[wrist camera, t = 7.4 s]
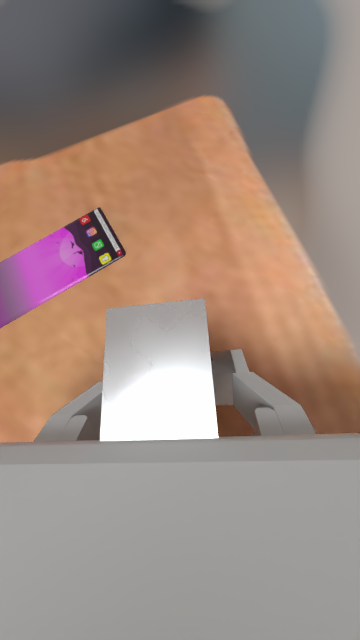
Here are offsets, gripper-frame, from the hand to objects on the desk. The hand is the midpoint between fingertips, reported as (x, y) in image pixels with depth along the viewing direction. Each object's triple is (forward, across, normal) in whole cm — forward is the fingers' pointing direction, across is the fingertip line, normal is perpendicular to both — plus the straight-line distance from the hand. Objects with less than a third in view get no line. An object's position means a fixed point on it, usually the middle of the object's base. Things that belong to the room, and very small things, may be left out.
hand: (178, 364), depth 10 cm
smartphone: (+12, +14, -3) cm, 19 cm away
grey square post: (+3, 0, +4) cm, 5 cm away
